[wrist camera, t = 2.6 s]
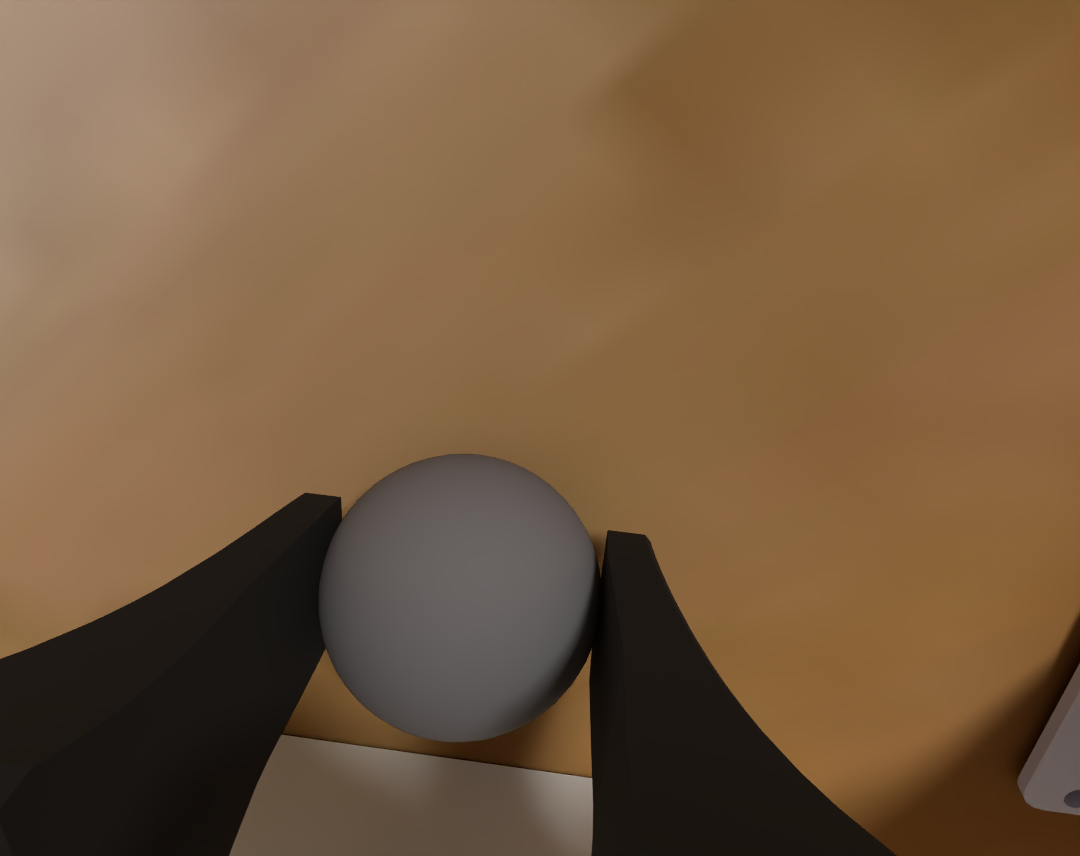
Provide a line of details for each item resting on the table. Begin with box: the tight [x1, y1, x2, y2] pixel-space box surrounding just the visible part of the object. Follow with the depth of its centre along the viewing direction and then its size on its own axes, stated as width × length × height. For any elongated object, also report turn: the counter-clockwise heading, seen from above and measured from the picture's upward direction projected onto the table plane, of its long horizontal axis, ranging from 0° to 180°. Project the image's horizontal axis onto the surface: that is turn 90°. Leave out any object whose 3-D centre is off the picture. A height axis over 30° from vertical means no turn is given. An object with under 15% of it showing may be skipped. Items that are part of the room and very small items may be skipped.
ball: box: [318, 454, 601, 742], centre depth 13 cm, size 4×4×4 cm
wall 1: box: [229, 735, 593, 856], centre depth 16 cm, size 16×1×4 cm, turn 85°
